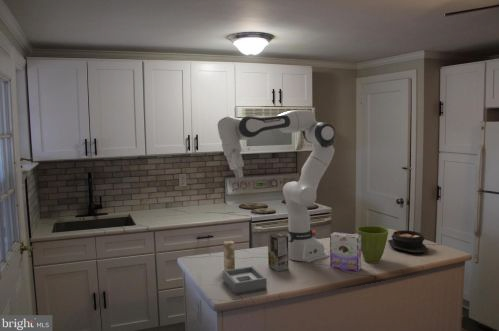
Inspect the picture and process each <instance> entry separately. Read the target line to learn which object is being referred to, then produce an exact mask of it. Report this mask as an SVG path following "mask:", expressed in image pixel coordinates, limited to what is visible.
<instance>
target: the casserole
mask: <svg viewBox="0 0 499 331" xmlns="http://www.w3.org/2000/svg"><path fill="white" fill-rule="evenodd" d="M424 241H425V237H424V235H423V234H422V233H421V232H418V231H415V230H396V231H394V232H393V234H392V235H391V239H387V243H389V246H390V247H392V248H393V249H397V250H399V251H402V252H409V253H414V254H415V253H427V252H428V251H430V249H429V248H428V247H427V246H426V245H425V244H424Z"/></svg>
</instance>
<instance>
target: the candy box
mask: <svg viewBox="0 0 499 331" xmlns="http://www.w3.org/2000/svg"><path fill="white" fill-rule="evenodd" d="M329 239H330V240H329V251H330V252H329V258H330V259H329V260H330V266H329V267H330V268H332V269H338V270H344V271H345V270H346V271H352V272H359V271H360V270H361V269H362V251H361V235H358V234H354V233H353V234H352V233H345V232H338V231H337V232H335V231H334V232H332V233H331V234H330V235H329Z"/></svg>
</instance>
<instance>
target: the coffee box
mask: <svg viewBox="0 0 499 331" xmlns="http://www.w3.org/2000/svg"><path fill="white" fill-rule="evenodd" d="M267 253H268V254H267V255H268V256H267V260H268V264H267V266H268V267H269V268H271V269H273V270H275V271H277V272H281V271H286V270H290V269H289V265H290V262H289V259H288V235H286V234H282V233H279V232H275V233H269V234H267Z"/></svg>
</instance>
